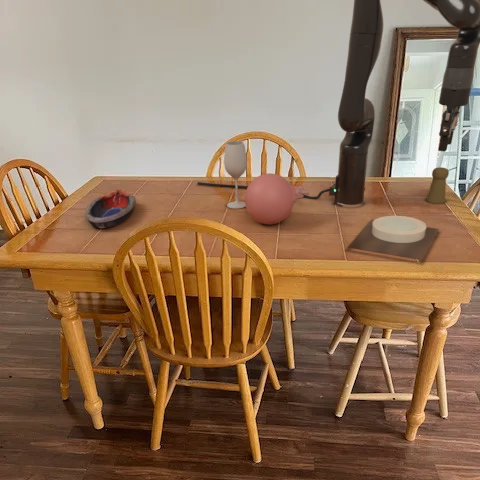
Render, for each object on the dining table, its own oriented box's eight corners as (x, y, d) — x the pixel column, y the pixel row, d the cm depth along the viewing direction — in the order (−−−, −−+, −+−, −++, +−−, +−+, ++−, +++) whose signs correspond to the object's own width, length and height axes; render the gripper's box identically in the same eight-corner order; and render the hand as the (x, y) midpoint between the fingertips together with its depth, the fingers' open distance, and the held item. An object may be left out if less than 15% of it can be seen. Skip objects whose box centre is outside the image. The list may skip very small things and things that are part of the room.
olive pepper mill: (446, 203, 168) (452, 170, 162) (427, 203, 169) (432, 170, 164) (443, 197, 173) (449, 165, 167) (425, 197, 174) (430, 165, 169)
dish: (76, 232, 157) (72, 217, 154) (103, 201, 183) (100, 188, 180) (124, 232, 156) (122, 216, 153) (145, 200, 182) (143, 187, 180)
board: (346, 250, 138) (347, 247, 138) (371, 222, 156) (371, 219, 155) (421, 263, 130) (421, 260, 129) (438, 232, 147) (438, 228, 147)
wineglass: (222, 207, 173) (219, 145, 162) (231, 200, 179) (228, 140, 168) (243, 209, 170) (241, 146, 159) (251, 202, 176) (249, 141, 165)
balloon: (309, 231, 151) (312, 181, 143) (244, 232, 153) (242, 182, 145) (307, 214, 164) (309, 167, 156) (246, 214, 166) (245, 168, 158)
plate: (365, 238, 143) (365, 229, 141) (379, 221, 154) (380, 212, 152) (418, 246, 136) (420, 237, 135) (429, 228, 147) (431, 219, 146)
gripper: (446, 81, 141) (435, 141, 150) (437, 88, 131) (426, 151, 139) (474, 82, 138) (461, 143, 147) (468, 89, 128) (454, 154, 136)
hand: (444, 147), depth 143 cm, fingers open, 8 cm apart
